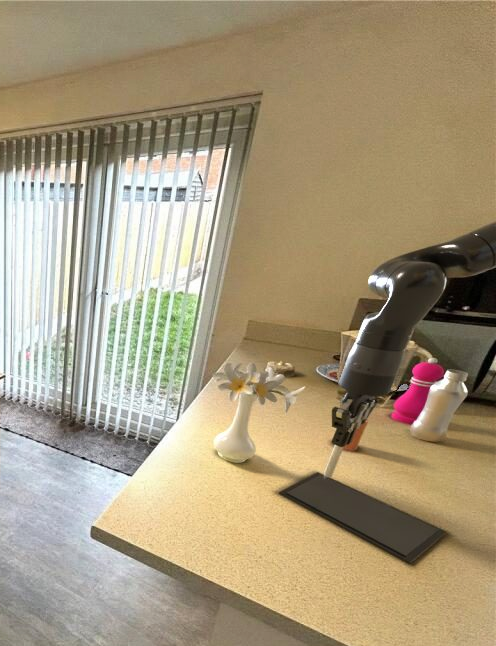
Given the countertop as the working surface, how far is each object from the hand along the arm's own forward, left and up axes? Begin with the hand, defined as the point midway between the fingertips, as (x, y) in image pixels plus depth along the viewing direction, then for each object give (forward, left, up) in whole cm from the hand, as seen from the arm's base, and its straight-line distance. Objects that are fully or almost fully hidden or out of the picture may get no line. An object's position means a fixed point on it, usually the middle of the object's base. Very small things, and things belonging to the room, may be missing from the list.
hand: (340, 443), depth 82 cm
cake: (+46, -69, -14) cm, 84 cm away
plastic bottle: (-1, -52, -14) cm, 54 cm away
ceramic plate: (+27, -85, -14) cm, 90 cm away
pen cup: (+7, -28, -14) cm, 32 cm away
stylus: (0, 0, -9) cm, 9 cm away
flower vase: (+18, +2, -14) cm, 23 cm away
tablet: (-7, 0, -14) cm, 15 cm away
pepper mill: (+6, -61, -14) cm, 63 cm away
